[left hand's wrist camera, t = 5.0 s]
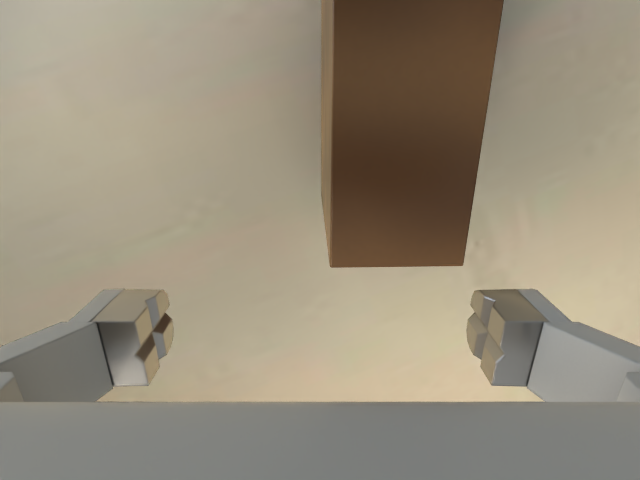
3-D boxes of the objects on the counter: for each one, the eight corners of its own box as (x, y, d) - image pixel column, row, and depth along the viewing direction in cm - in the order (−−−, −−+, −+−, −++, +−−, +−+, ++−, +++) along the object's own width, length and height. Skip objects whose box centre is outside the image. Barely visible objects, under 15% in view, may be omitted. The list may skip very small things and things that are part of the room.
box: (400, 194, 29) (463, 266, 17) (321, 195, 29) (329, 268, 17) (429, -173, 21) (583, -513, 9) (321, -175, 21) (337, -524, 9)
